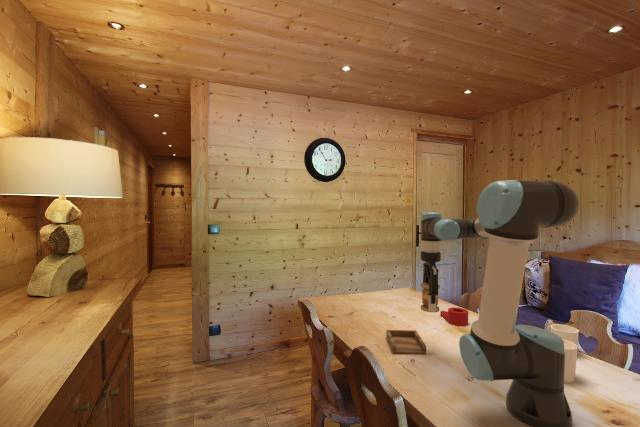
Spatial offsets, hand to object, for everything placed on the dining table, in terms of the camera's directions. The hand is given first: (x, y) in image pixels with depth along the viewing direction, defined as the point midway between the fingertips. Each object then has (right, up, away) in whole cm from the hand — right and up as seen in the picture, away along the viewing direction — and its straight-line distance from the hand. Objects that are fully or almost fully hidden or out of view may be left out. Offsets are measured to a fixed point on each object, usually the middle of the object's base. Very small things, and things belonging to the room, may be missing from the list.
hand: (429, 307), depth 127 cm
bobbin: (0, -1, 0) cm, 1 cm away
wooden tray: (-8, -18, +7) cm, 21 cm away
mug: (+54, -18, -1) cm, 57 cm away
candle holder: (+38, -18, -19) cm, 46 cm away
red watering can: (+25, -18, +37) cm, 48 cm away
